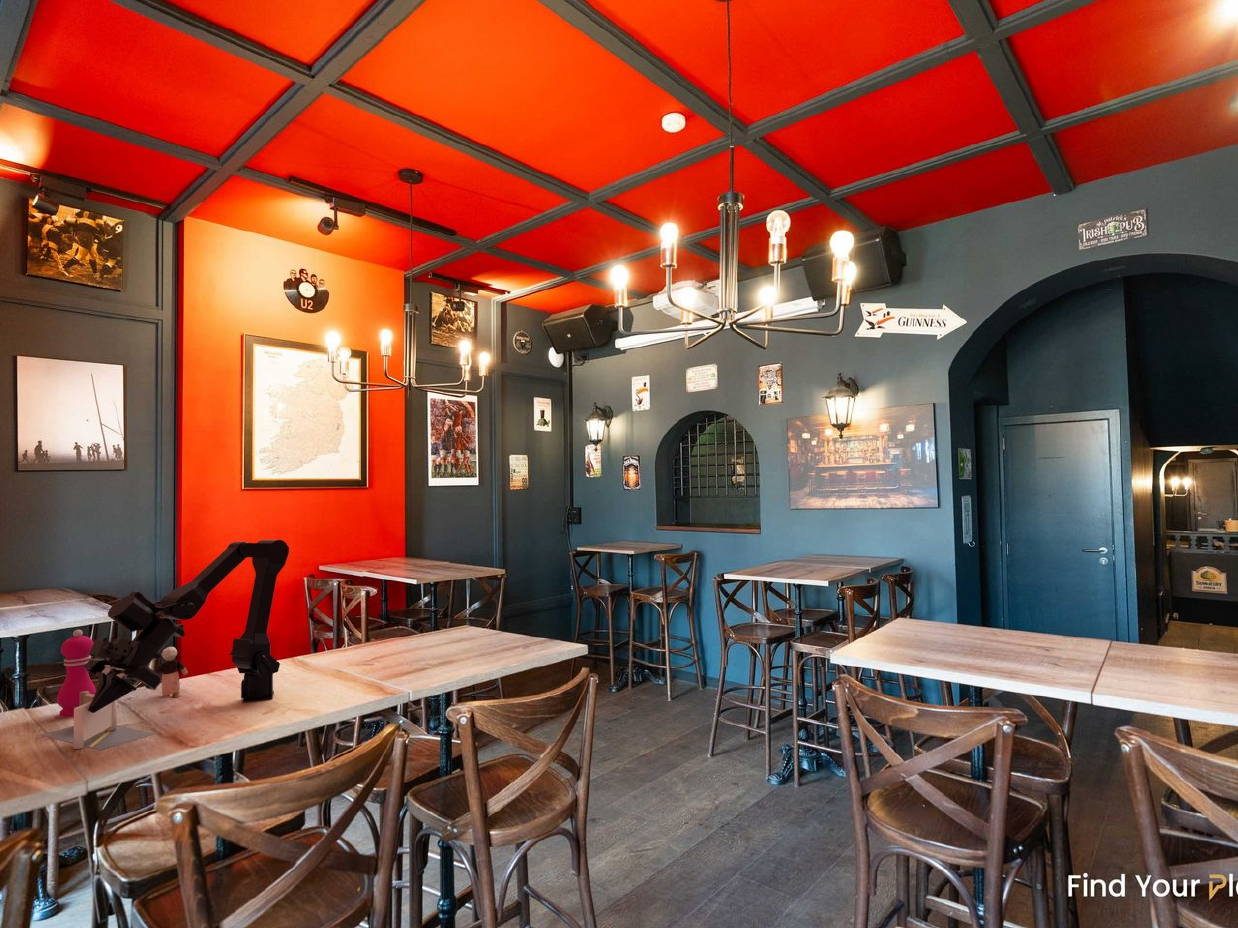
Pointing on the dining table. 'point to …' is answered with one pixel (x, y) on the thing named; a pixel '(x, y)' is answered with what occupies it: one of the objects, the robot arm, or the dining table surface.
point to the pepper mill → (75, 673)
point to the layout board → (101, 739)
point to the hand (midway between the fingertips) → (90, 711)
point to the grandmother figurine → (170, 673)
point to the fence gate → (93, 722)
